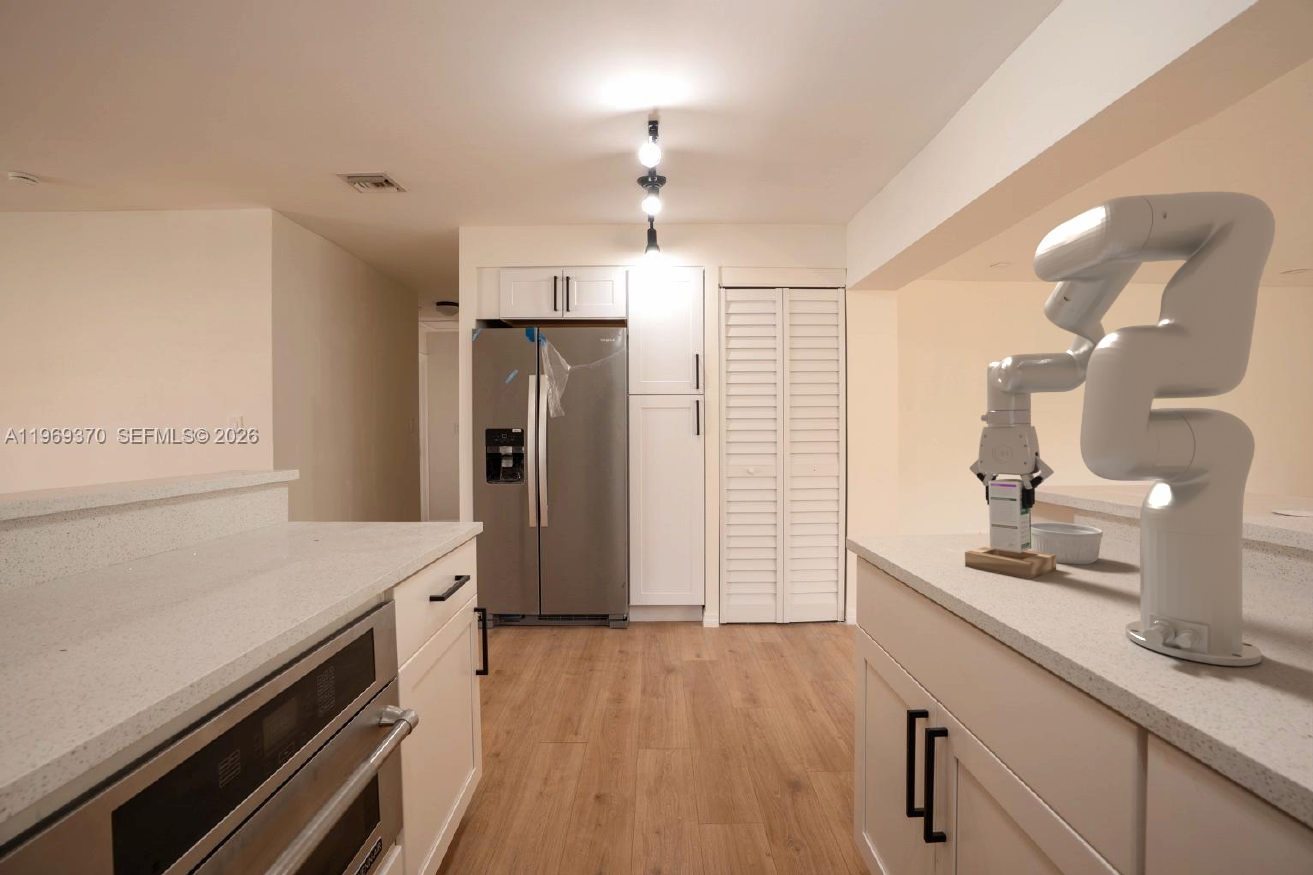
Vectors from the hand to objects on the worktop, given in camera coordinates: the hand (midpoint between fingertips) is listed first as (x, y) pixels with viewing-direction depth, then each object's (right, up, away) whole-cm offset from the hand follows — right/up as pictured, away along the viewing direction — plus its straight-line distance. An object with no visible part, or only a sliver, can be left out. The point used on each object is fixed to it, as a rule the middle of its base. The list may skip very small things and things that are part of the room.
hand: (1009, 505), depth 109 cm
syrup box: (0, -9, 0) cm, 9 cm away
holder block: (0, -13, 0) cm, 13 cm away
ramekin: (+17, -13, +7) cm, 23 cm away
